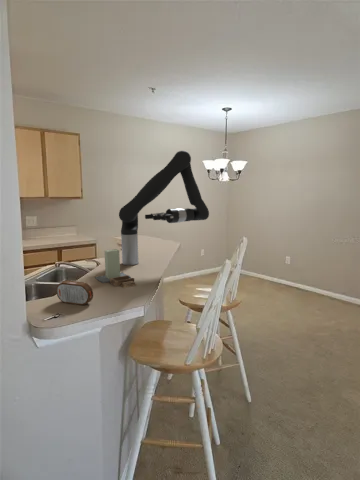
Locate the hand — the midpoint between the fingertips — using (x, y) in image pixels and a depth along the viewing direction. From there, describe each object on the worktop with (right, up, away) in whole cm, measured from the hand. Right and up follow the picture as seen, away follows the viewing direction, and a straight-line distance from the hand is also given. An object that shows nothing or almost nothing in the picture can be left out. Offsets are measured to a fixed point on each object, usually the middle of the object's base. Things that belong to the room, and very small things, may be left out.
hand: (149, 217), depth 160 cm
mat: (-17, -30, -8) cm, 35 cm away
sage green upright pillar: (-17, -29, -8) cm, 35 cm away
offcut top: (-7, -31, -20) cm, 38 cm away
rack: (-11, -31, -15) cm, 36 cm away
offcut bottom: (-7, -32, -20) cm, 39 cm away
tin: (-24, -36, -41) cm, 59 cm away
